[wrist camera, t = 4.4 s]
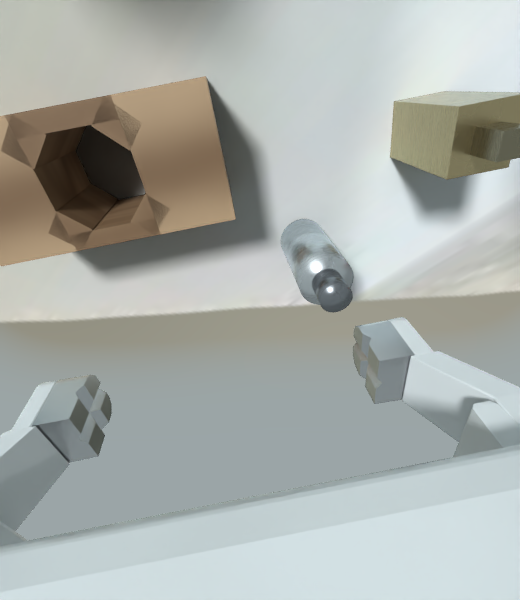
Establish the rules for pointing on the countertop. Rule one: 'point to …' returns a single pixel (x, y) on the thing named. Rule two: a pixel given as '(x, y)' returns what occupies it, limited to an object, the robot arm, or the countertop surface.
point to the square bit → (457, 132)
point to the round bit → (317, 265)
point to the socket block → (92, 200)
